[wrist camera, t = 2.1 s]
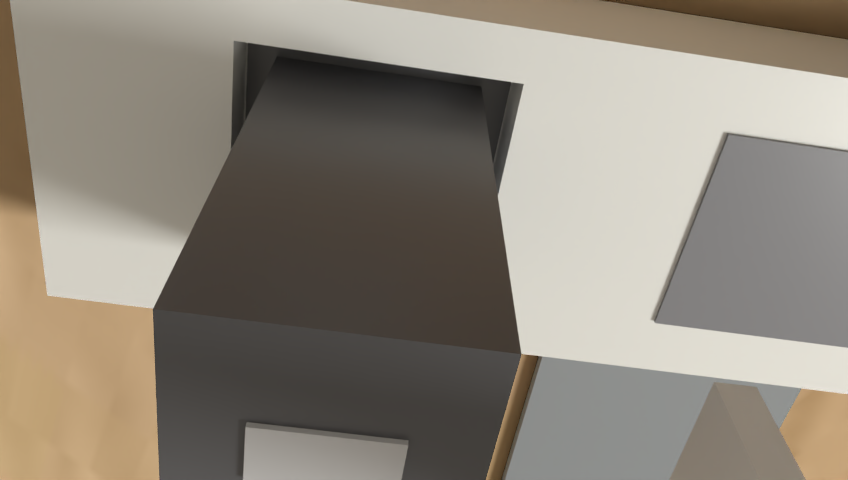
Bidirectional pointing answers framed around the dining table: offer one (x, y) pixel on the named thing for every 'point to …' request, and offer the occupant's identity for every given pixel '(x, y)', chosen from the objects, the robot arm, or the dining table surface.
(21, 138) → the dining table surface
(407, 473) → the block
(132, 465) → the dining table surface
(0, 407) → the dining table surface
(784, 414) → the pad
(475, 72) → the power strip
